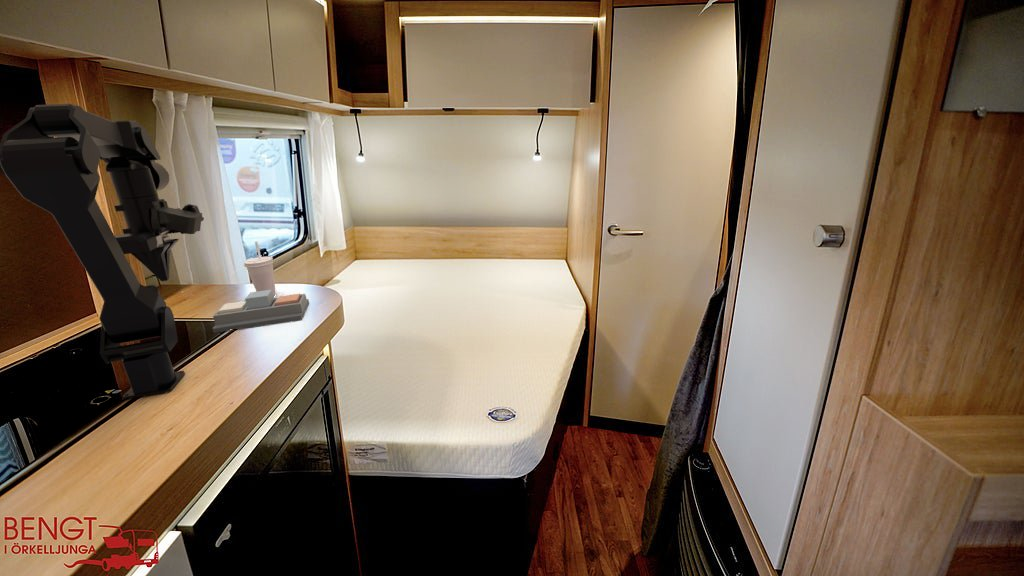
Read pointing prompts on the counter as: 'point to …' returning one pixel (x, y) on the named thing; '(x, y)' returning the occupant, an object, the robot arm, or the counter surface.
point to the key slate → (259, 299)
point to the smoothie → (261, 272)
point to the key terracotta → (288, 299)
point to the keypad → (260, 316)
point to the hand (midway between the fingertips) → (165, 280)
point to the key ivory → (233, 307)
